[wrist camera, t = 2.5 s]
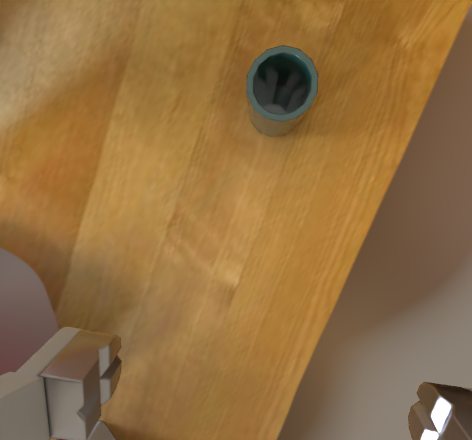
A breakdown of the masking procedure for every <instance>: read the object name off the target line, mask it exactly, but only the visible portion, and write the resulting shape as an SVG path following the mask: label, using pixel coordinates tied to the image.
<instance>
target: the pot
mask: <svg viewBox="0 0 472 440" xmlns="http://www.w3.org/2000/svg"><path fill="white" fill-rule="evenodd" d="M317 92H318V73H317V71H316V69H315V66H314V64H313V61H312V60H311V58H309V57H308V56H307V55H306V54H305V53H303V52H302V51H301V50H300V49H297V48H293V47H288V46H279V47H275V48H271V49H268V50H266V51H265V52H264V53H263V54H261V55H260V56H259V57H258V58H257V59H256V60H255V61H254V62H253V64H252V66H251V68H250V70H249V73H248V75H247V101H248V110H249V116H250V119H251V122H252V124H253V125H254V127H255V128H256V129H257V130H258V131H259V132H261V133H262V134H264V135H267V136H271V137H277V136H282V135H285V134H287V133H288V132H290V131H291V130H292V129H293V128H294V127H295V126H296V125H297V124H298V123H299V121H300V120H301V119H302V117H303V116H304V115H305V113H306V112H307V111H308V109H309V108H310V106H311V104H312V102H313V100H314V98H315V96H316V94H317Z"/></svg>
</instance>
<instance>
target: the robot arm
mask: <svg viewBox="0 0 472 440" xmlns="http://www.w3.org/2000/svg"><path fill="white" fill-rule="evenodd" d="M120 349H121V337H119V336H118V335H113V334H107V333H101V332H96V331H90V330H85V329H84V330H82V329H77V328H71V327H65V328H62V329H60V330H59V331H58V332H57V333H56V334H55V335H54V336H53V337H52V338H51V339H50V340H49V341H48V342H47V343H46V344H45V345H43V347H41V348H40V350H38V351H37V352H36V353H35V354H34V355H33V356H32V357H31V358H30V359H29V360H28V361H27V362H26V363H25V364H24V365H23V366H22V367H21V368H20V369H19V370H18V371H17V372H15V373H13V372H8V373H6V374H4V375H1V376H0V440H50V438H58V439H65V440H87V439H88V437H89V436H90V434H91V432H92V430H93V429H94V427H95V425H96V423H97V422H98V420H99V418H100V416H101V405H102V404H104V403H105V402H107V401H108V400H110V399H111V397H112V395H113V393H114V391H115V389H116V387H117V384H118V381H119V378H120V374H121V360H120V358H119V357H118V355H117V354H118V352H119V351H120ZM417 395H418V397H419V399H420V401H418V402H417V403H415V404H414V405H412V406H411V409H410V412H409V415H408V421H409V430H410V433H411V437H412V439H413V440H472V388H462V387H456V386H448V385H442V384H435V383H428V382H424V383H422V384H421V385H420V386H419V388H418V391H417Z"/></svg>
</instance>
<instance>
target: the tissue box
mask: <svg viewBox="0 0 472 440" xmlns="http://www.w3.org/2000/svg"><path fill="white" fill-rule="evenodd" d="M56 440H58V439H56ZM59 440H65V439H59ZM87 440H116V439H115V438H114V436H113V435H112V433H111V432H110V430H109V429H108V427H107V426H106V424H105V423H104V422H103V421H98V422H97V423H96V425H95V427H94V429H93V430H92V432H91V434H90V436H89V437H88V439H87Z"/></svg>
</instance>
